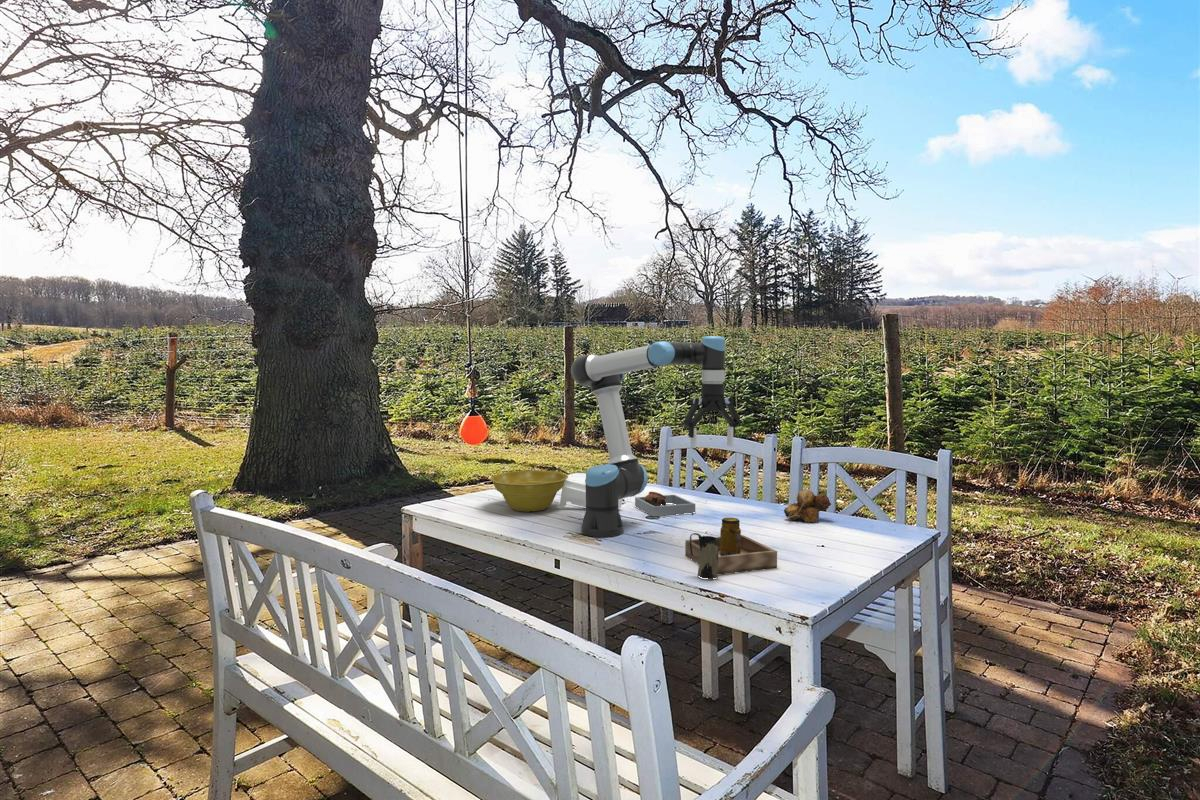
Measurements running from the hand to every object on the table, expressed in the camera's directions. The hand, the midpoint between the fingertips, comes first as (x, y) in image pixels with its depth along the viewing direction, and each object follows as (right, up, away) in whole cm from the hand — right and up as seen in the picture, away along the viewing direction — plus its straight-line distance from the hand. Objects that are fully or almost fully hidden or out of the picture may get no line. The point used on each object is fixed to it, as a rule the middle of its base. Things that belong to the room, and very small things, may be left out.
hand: (711, 446), depth 224 cm
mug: (-8, -34, -34) cm, 49 cm away
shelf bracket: (-41, -30, +53) cm, 73 cm away
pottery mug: (-15, -30, +52) cm, 62 cm away
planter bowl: (-66, -30, +56) cm, 92 cm away
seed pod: (+40, -30, +32) cm, 60 cm away
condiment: (+3, -33, -21) cm, 39 cm away
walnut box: (+2, -33, -21) cm, 39 cm away
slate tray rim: (-11, -29, +51) cm, 60 cm away
